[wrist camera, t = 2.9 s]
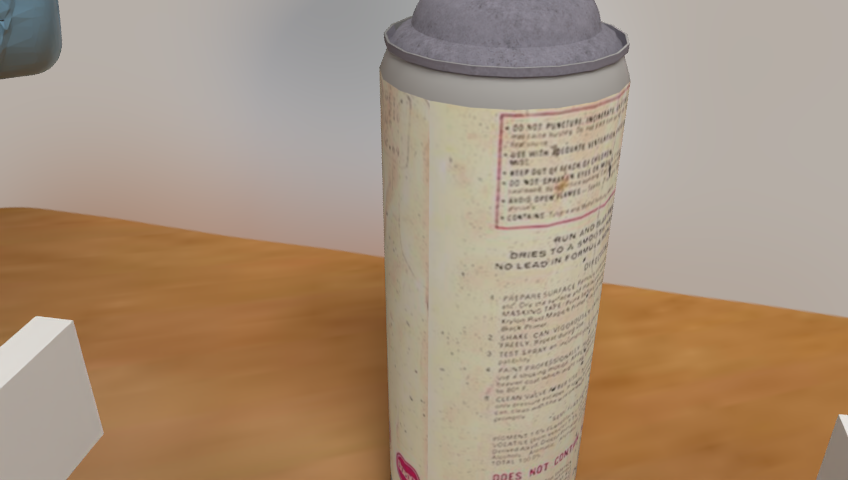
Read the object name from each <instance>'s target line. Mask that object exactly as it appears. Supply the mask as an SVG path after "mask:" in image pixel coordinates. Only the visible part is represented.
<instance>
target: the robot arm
mask: <svg viewBox="0 0 848 480" xmlns="http://www.w3.org/2000/svg"><path fill="white" fill-rule="evenodd" d="M61 48H62V37H61V25H60V14H59V5H58V0H0V79H6V78H14V77H20V76H29V75H35V74H39V73H42V72H44V71H46V70H48V69H49V68H51V67H52V66H53V65H54V64H55V63H56V61H57V60H58V58H59V56H60V52H61ZM103 434H104V433H103V429H102V425H101V422H100V418H99V414H98V411H97V407H96V403H95V400H94V396H93V392H92V388H91V385H90V381H89V377H88V374H87V370H86V366H85V363H84V359H83V355H82V352H81V348H80V344H79V340H78V337H77V333H76V329H75V326H74V322H73V321H72V320H64V319H56V318H48V317H40V316H36V317H34V318H33V319H32V320H31V321H30V322H29V323H27V324H26V325H25V326H24V327H23V328H22V329H21V330H19V331H18V332H17V333H16V334H15V335H14V336H12V337H11V338H10V339H9V340H8V341H7V342H6V343H4V344H3V345H2V346H1V347H0V480H66V479H67V478H68V477H69V476H70V474H71V473H72V472H73V471H74V469H75V468H76V467H77V466H78V465H79V463H80V462H81V461H82V460H83V458H84V457H85V456H86V455H87V453H88V452H89V451H90V450H91V449H92V447H93V446H94V445H95V444H96V442H97V441H98V440H99V439H100V438H101V436H102V435H103ZM816 480H848V415H840V414H839V415H838V418H837V421H836V424H835V427H834V430H833V432H832V435H831V438H830V441H829V444H828V447H827V450H826V453H825V456H824V459H823V462H822V465H821V468H820V471H819V474H818V476H817V479H816Z"/></svg>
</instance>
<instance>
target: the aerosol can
mask: <svg viewBox="0 0 848 480" xmlns="http://www.w3.org/2000/svg"><path fill="white" fill-rule="evenodd" d="M384 39H385V43H386V46H387V49H386V52H385V54H384V57H383V60H382V62H381V65H380V104H381V139H382V140H381V141H382V177H383V212H384V213H383V214H384V250H385V287H386V323H387V360H388V396H389V433H390V468H391V480H575V477H576V470H577V462H578V455H579V448H580V441H581V434H582V426H583V419H584V412H585V405H586V397H587V390H588V383H589V376H590V369H591V361H592V354H593V347H594V340H595V333H596V325H597V318H598V311H599V304H600V297H601V289H602V282H603V274H604V267H605V260H606V253H607V246H608V239H609V231H610V224H611V217H612V209H613V203H614V195H615V188H616V181H617V174H618V166H619V159H620V152H621V145H622V137H623V130H624V123H625V116H626V109H627V101H628V95H629V87H630V77H629V72H628V68H627V64H626V61H625V56H624V55H625V54H627V53H628V49H629V45H630V43H629V39H628V35H627V34H626V33H625V32H623V31H622V30H620V29H618V28H617V27H615V26H614V25H611V24H608V23H605V22H602V21H601V20H600V14H599V11H598V8H597V5H596V3H595V1H594V0H420V1H419V3H418V5H417V6H416V8H415V11H414V13H413V16H411V17H408V18H405V19H403V20H400V21H398V22H396V23H393V24H392V25H391V26H390V27H389V28H388V29H387V30H386V31H385V32H384Z"/></svg>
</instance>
